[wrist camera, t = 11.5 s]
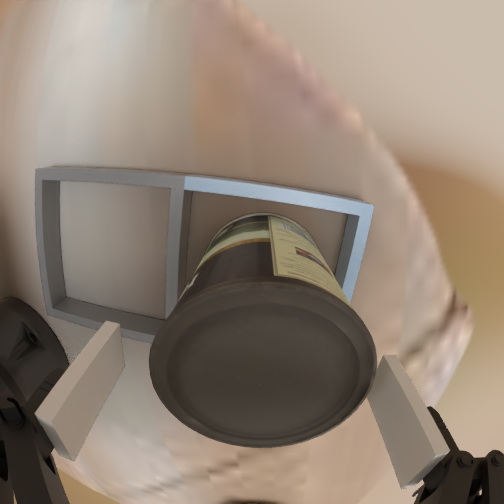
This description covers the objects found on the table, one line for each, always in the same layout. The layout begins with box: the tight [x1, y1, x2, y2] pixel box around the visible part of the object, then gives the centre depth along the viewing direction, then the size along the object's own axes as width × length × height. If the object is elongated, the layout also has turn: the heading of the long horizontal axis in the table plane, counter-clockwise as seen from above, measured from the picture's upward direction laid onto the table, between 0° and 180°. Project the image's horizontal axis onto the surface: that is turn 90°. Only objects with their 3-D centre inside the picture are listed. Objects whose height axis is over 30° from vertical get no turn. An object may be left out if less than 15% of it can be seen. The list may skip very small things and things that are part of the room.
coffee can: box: [149, 213, 377, 448], centre depth 18 cm, size 10×10×14 cm
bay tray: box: [35, 167, 374, 344], centre depth 24 cm, size 29×15×3 cm, turn 82°
